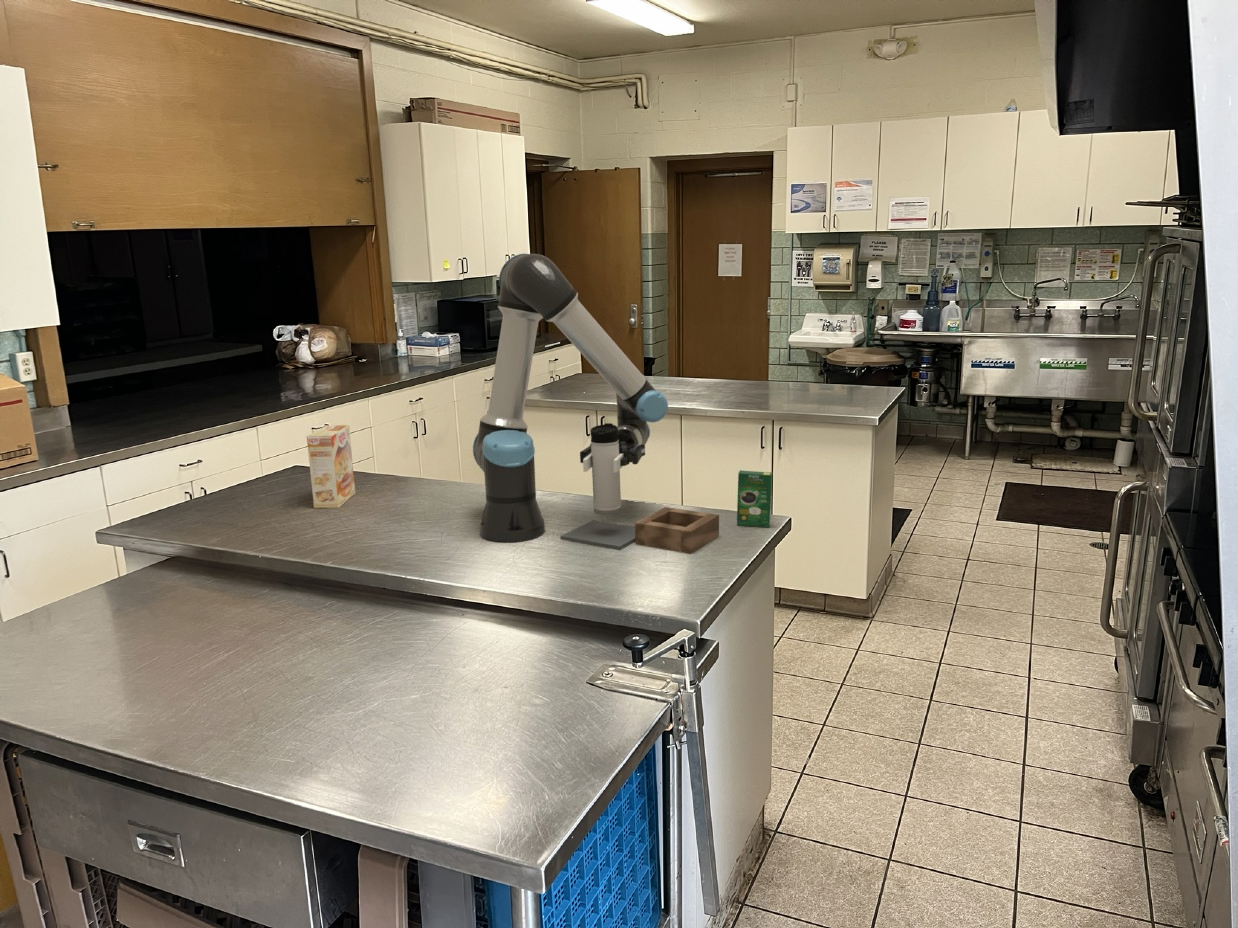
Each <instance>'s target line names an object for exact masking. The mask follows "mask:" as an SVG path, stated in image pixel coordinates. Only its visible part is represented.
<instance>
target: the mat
mask: <svg viewBox="0 0 1238 928" xmlns="http://www.w3.org/2000/svg"><path fill="white" fill-rule="evenodd" d="M559 538H560V540H561V541H569V542H575V543H579V544H586V545H591V546H597V547H600V548H601V547H602V548H608V549H613V550H619V551H620V550H623V549H625V548H626V547H627V546H629V545H632V544H633V543H635V525H627V524H622V523H617V522H616V523H615V522H609V521H603V520H598V519H597V520H595V519H592V520H590V521H589V522H587V523H584V524H582V525H580V526H578V527H576V528H574V529H572V530H570V531H567V532H566V533H563V534H561V535H560V537H559Z"/></svg>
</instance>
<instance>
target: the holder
mask: <svg viewBox="0 0 1238 928" xmlns="http://www.w3.org/2000/svg"><path fill="white" fill-rule="evenodd" d="M634 527H635V542H634V544H635V545H638V546H645V547H651V548H656V549H663V550H666V551H673V552H678V553H679V552H680V553H684V554H690V555H691V554H693V553H695V552H697V551H698V550H700V549H701V548H702V547H704V546H705V545H707V544H709V543H710V542H712V541H713V540H715V539H716V538H718V537H719V536H720V514H714V513H708V512H703V511H697V510H696V511H695V510H688V509H682V508H681V509H680V508H674V507H669V506H667V507H666V506H665V507H664V506H663V508H662V507H661V508H660V509H659V510H656V511H655V512H653V513H650V514H649V515H647V516H645V517H644V518H642V519H639V520H638V521H636V522H634ZM714 538H715V539H714ZM711 540H712V541H711ZM708 542H709V543H708Z"/></svg>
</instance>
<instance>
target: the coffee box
mask: <svg viewBox="0 0 1238 928" xmlns="http://www.w3.org/2000/svg"><path fill="white" fill-rule="evenodd" d="M737 475H738V476H737V477H738V478H737V501H736V502H737V504H736V508H737V510H736V511H737V512H736V526H743V527H759V528H771V518H772V517H771V515H772V514H771V513H772V496H773V495H772V493H773V492H772V491H773V490H772V489H773V472H768V471H767V472H766V471H753V470H741V469H740V470H739V471H738V474H737Z"/></svg>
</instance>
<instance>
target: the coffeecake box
mask: <svg viewBox="0 0 1238 928" xmlns="http://www.w3.org/2000/svg"><path fill="white" fill-rule="evenodd" d="M350 430H351V429H350V425H346V424H345V425H343V424H341V425H324V426H323V427H321V428H319V429H318V430H316V431H314V432H312V433H310V434H309V435H307V436H306V442H307V454H308V462H309V471H310V472H309V473H310V481H311V490H312V499H313V500H312V501H313V508H314V509H319V508H320V509H338V508H341V507H342V505H344V504H345V503H346V502H347V501H348V500H349V499H350V498H351V497H353V496H354V495H355V494H356V487H355V486H356V485H355V477H354V476H355V475H354V465H353V455H352V443H351V442H352V441H351V434H350V433H351V432H350Z"/></svg>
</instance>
